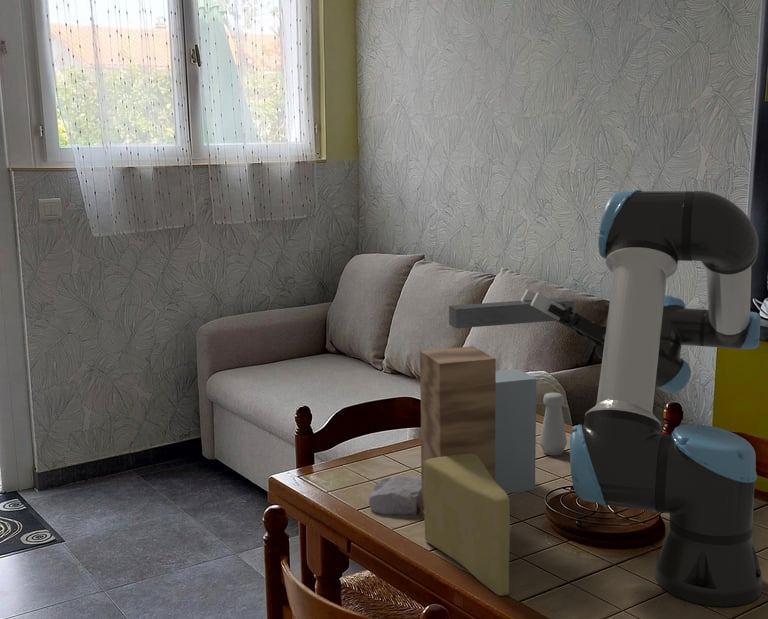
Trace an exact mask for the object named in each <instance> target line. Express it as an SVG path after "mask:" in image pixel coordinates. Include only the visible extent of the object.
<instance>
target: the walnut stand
mask: <svg viewBox="0 0 768 619" xmlns="http://www.w3.org/2000/svg"><path fill="white" fill-rule="evenodd" d="M496 363H497V359H496V358H495V357H494V356H491V355H489V354H488V353H487V352H484V351H483V350H480V349H479V348H477V347H475V346H473V345H471V346H461V347H451V348H440V349H438V348H437V349H428V350H419V364H420V365H419V368H420V370H419V371H420V372H419V373H420V377H419V378H420V380H419V382H420V390H419V392H420V460H421V461H420V462H421V464H420V466H421V472H420V474H421V475H420V476H421V478H420V479H421V481H422V504H421V506H418V512H417V513H419V515H421V517H422V518H423V519H424V520H425V496H424V463H425V461H426V460H428V459H431V458H436V457H444V456H452V455H459V454H470V453H472V454H476V455H477V456H478V457H479V458H480V460H481V461H482V463H483V464H484V466H485V468H486V469H487V471H488V472H489V474H490V475H491V476H492V478H493V479H494V480H495V409H496V371H497V368H496V367H497V364H496Z"/></svg>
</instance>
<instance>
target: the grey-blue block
mask: <svg viewBox="0 0 768 619" xmlns="http://www.w3.org/2000/svg"><path fill="white" fill-rule="evenodd" d="M536 433H537V378H536V377H534V376H532V375H531V374H528V373H527V372H525V371H523V370H521V369H519V368H515V369H514V368H513V369H504V370H503V369H502V370H496V409H495V481H496V483H497V484H498V485H499V486H500V487H501V488H502V489H503V490H504V491H505V492H506V494H507V495H508V494H515V493H522V492H529V491H535V490H536V446H537V444H536V440H537V436H536V435H537V434H536Z"/></svg>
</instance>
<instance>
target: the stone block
mask: <svg viewBox="0 0 768 619" xmlns="http://www.w3.org/2000/svg"><path fill="white" fill-rule="evenodd" d="M368 497H369V498H368V504H369V506H370V509H371V510H372V512H373V513H378V514H383V515H403V516H404V515H410V516H415V515H417V514H418V513H419V512H418V506H422V481H421V478H419V477H416V476H415V477H414V476H411V475H395V476H390V477H387V478H383V479H380V480H379V482H378V483H377V484H376V485H375V486H374V487H373V488H372V490H371V492H370V493H369V496H368Z"/></svg>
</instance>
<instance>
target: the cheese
mask: <svg viewBox="0 0 768 619" xmlns="http://www.w3.org/2000/svg"><path fill="white" fill-rule="evenodd" d="M424 496H425V519H424V539H425V541H426V542H427V543H428V544H430V545H432V546H433V547H434V548H436V549H437V550H439V551H440V552H442V553H444V554H446V555H447V556H448V557H449V558H451V559H453V560H454V561H456V562H457V563H458V564H460V565H462V567H463V568H465V569H466V570H467V571H468V572H469V573H470V574H471V575H472V576H474V578H475V579H476V580H477V581H479V582H480V583H482V584H483V585H484V586H485V587H486V588H488V589H490V590H491V591H492V592H493V593H495V594H496V595H497V596H500V597H503V596H507V595H509V594H510V549H511V548H510V547H511V544H510V543H511V523H510V522H511V520H510V518H511V517H510V514H511V513H510V512H511V511H510V509H511V508H510V507H511V506H510V498H509V496H508V494H506V492H505V491H504V490H503V489H502V488H501V487H500V486H499V485H498V484H497V483H496V481H495V480H494V479H493V478H492V476H491V475H490V474H489V472H488V471H487V469H486V468H485V466H484V464H483V463H482V461H481V460H480V458H479V457H478V456H477V455H476V454H472V453H470V454H459V455H452V456H444V457H436V458H431V459H428V460H426V461H425V463H424Z"/></svg>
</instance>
